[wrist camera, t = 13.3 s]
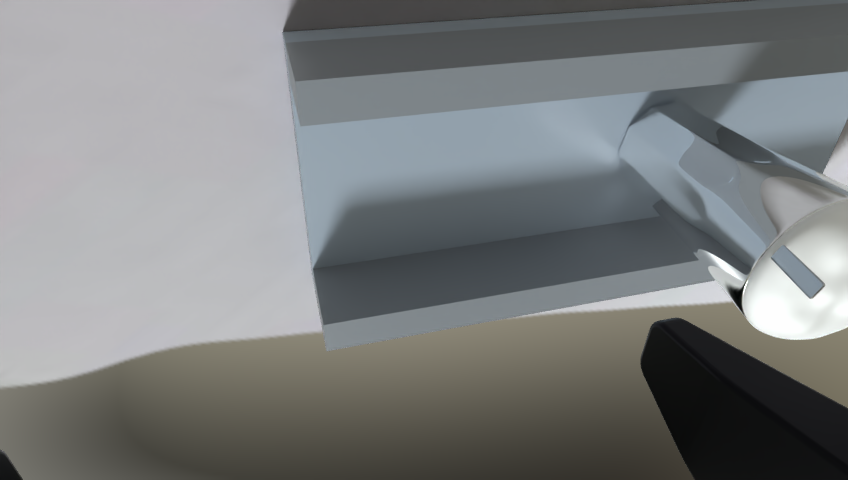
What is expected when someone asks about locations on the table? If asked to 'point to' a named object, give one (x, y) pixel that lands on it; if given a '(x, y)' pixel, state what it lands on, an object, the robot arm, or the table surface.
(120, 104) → the table surface
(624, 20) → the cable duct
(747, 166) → the milkshake
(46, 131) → the table surface
